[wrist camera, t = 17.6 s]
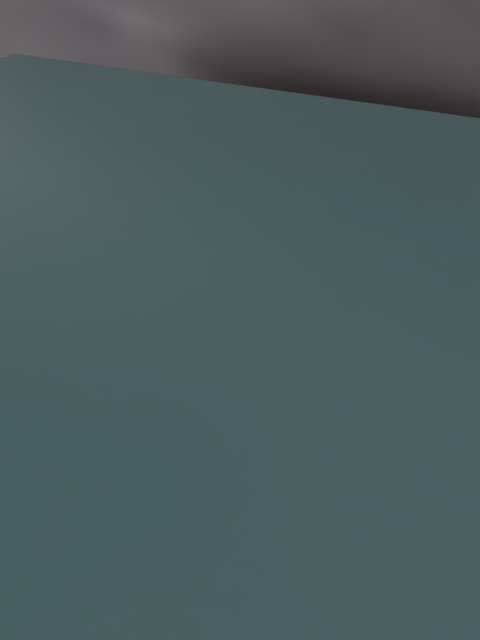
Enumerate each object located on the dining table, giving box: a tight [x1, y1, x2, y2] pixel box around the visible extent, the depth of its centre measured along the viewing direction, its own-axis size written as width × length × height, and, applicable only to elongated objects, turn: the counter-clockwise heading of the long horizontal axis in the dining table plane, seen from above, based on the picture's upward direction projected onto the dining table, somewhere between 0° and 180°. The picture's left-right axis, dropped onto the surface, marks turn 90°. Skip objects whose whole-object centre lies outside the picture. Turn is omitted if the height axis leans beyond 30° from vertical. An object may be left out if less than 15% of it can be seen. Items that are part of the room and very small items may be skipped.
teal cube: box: [0, 54, 480, 640], centre depth 8 cm, size 10×10×9 cm
